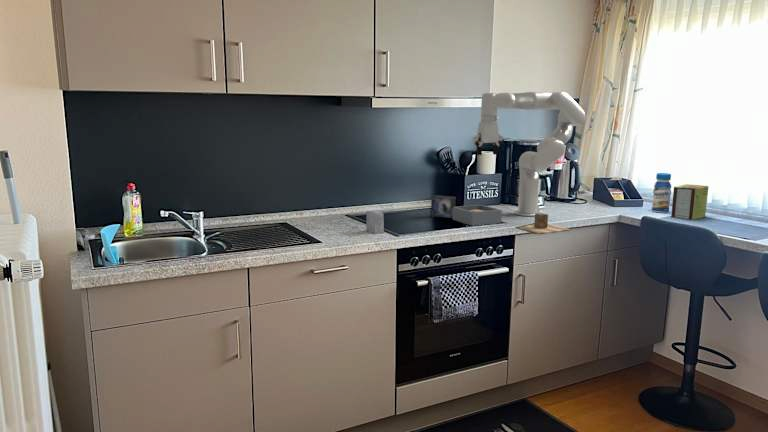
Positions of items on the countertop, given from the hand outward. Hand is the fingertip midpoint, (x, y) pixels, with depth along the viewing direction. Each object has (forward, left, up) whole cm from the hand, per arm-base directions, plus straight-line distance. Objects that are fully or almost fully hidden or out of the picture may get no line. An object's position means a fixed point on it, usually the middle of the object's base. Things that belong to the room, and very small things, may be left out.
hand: (487, 154), depth 282 cm
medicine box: (+66, +11, -31) cm, 74 cm away
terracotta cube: (+15, +14, -29) cm, 36 cm away
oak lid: (-4, +36, -31) cm, 48 cm away
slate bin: (+15, +14, -30) cm, 37 cm away
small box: (+22, -4, -31) cm, 38 cm away
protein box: (-91, +45, -31) cm, 106 cm away
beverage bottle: (-91, +29, -31) cm, 100 cm away
